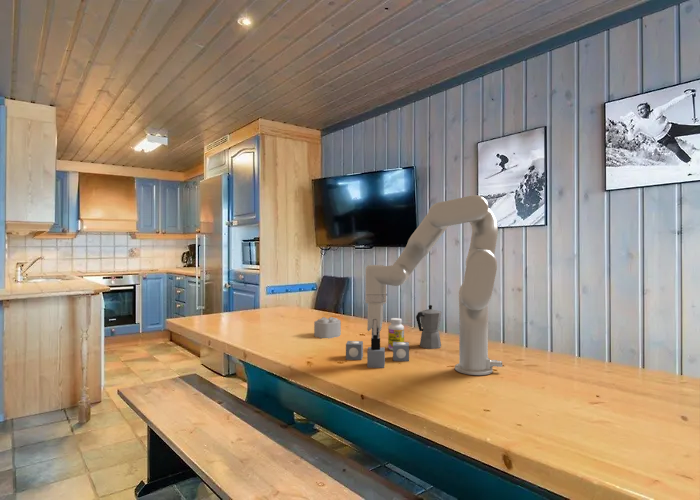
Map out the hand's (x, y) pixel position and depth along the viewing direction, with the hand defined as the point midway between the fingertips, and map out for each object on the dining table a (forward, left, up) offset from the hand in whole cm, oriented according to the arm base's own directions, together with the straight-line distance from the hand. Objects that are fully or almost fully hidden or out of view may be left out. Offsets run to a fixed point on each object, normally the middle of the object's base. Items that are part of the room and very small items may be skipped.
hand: (375, 349), depth 156 cm
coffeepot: (-21, -32, -6) cm, 39 cm away
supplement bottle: (-7, -26, -6) cm, 28 cm away
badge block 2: (-9, -10, -6) cm, 15 cm away
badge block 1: (+9, -10, -6) cm, 15 cm away
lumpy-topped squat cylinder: (+26, -51, -6) cm, 58 cm away
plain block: (0, 0, -6) cm, 6 cm away
